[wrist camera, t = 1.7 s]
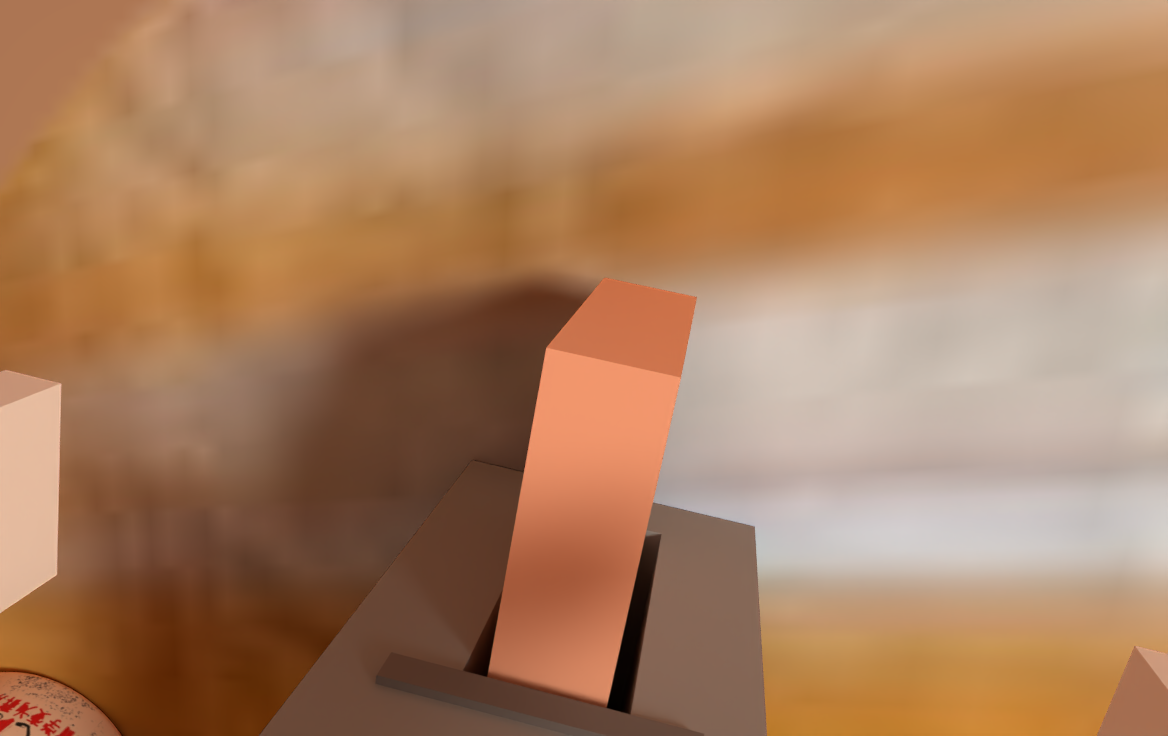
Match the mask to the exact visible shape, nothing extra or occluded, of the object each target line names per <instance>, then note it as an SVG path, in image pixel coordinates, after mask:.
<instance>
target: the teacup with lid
mask: <svg viewBox="0 0 1168 736" xmlns="http://www.w3.org/2000/svg"><path fill="white" fill-rule="evenodd" d="M0 736H122V735H121V734H120V732H119V731H118V730H117V728H116V727H115V726H114V724H113V723H112V722H111V721H110V720H109V719H108V717H107V716H106V715H105V714H104V713H103V712H102V711H101V710H100V709H99V708H97V707H96V706H95V705H94V704H93V703H91V702H90V701H89V700H88V699H86V698H85V697H83V696H82V695H81V694H79V693H77V692H76V691H74V690H73V689H71V688H69V687H67V686H65V685H63V684H61V683H58V682H56V681H54V680H51V679H48V678H45V677H42V676H38V675H34V674H28V673H21V672H0Z"/></svg>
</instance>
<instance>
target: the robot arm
mask: <svg viewBox="0 0 1168 736" xmlns="http://www.w3.org/2000/svg"><path fill="white" fill-rule="evenodd" d="M60 416H61V383H58V382H54V381H49V380H45V379H41V378H37V377H33V376H29V375H25V374H21V373H17V372H13V371H9V370H4V371H1V372H0V613H1V612H2V611H4V610H5V609H7V608H8V607H10V606H11V605H13V604H14V603H16V602H17V601H19V600H20V599H22V598H23V597H25V596H26V595H28V594H29V593H31V592H32V591H34V590H35V589H37V588H38V587H40V586H41V585H43V584H44V583H46V582H47V581H49V580H50V579H52V578H53V577H55V576H56V575H57V552H58V507H59V461H60ZM1097 736H1168V654H1166V653H1162V652H1158V651H1154V650H1150V649H1146V648H1142V647H1137V646H1134V649H1133V651H1132V654H1131V656H1130V658H1129V661H1128V663H1127V665H1126V668H1125V670H1124V673H1123V675H1122V677H1121V680H1120V682H1119V685H1118V687H1117V689H1116V692H1115V694H1114V696H1113V699H1112V701H1111V704H1110V706H1109V708H1108V711H1107V713H1106V715H1105V718H1104V720H1103V723H1102V725H1101V727H1100V730H1099V732H1098V734H1097Z"/></svg>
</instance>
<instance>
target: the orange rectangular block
mask: <svg viewBox="0 0 1168 736" xmlns="http://www.w3.org/2000/svg"><path fill="white" fill-rule="evenodd" d="M696 299H697V297H694V296H689V295H684V294H679V293H675V292H670V291H665V290H661V289H656V288H651V287H646V286H642V285H637V284H632V283H628V282H623V281H618V280H614V279H609V278H604V279H603V280H602V281H601V282H600V284H599V285H598V286H597V287H596V288H595V290H594V291H593V292H592V293H591V294H590V296H589V297H588V298H587V299H586V300H585V302H584V303H583V304H582V305H581V307H580V308H579V309H578V310H577V311H576V313H575V314H574V315H573V316H572V317H571V319H570V320H569V321H568V322H567V323H566V325H565V326H564V327H563V328H562V329H561V331H560V332H559V333H558V334H557V335H556V337H555V338H554V339H553V340H552V341H551V343H550V344H549V345H548V346H547V347H546V352H545V358H544V363H543V369H542V374H541V380H540V386H539V391H538V397H537V402H536V408H535V413H534V419H533V425H532V430H531V436H530V441H529V447H528V453H527V458H526V464H525V469H524V475H523V480H522V486H521V492H520V497H519V503H518V508H517V514H516V520H515V525H514V531H513V536H512V542H511V547H510V553H509V559H508V564H507V570H506V575H505V581H504V586H503V592H502V598H501V603H500V609H499V614H498V620H497V626H496V631H495V637H494V642H493V648H492V653H491V659H490V665H489V670H488V676H487V677H489V678H493V679H496V680H500V681H504V682H508V683H512V684H516V685H519V686H523V687H527V688H531V689H535V690H539V691H542V692H546V693H550V694H554V695H558V696H562V697H565V698H569V699H573V700H577V701H581V702H585V703H588V704H592V705H596V706H600V707H604V708H607V704H608V699H609V695H610V690H611V686H612V681H613V677H614V672H615V668H616V664H617V659H618V655H619V650H620V646H621V641H622V637H623V632H624V628H625V624H626V619H627V615H628V610H629V606H630V601H631V597H632V592H633V588H634V584H635V579H636V575H637V570H638V566H639V561H640V557H641V552H642V548H643V544H644V539H645V535H646V530H647V526H648V521H649V517H650V512H651V508H652V504H653V499H654V495H655V490H656V486H657V481H658V477H659V472H660V468H661V464H662V459H663V455H664V450H665V446H666V441H667V437H668V432H669V428H670V423H671V419H672V415H673V410H674V406H675V401H676V397H677V392H678V388H679V383H680V379H681V374H682V369H683V364H684V359H685V354H686V349H687V344H688V339H689V334H690V329H691V324H692V319H693V314H694V309H695V304H696Z"/></svg>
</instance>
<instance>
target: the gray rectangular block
mask: <svg viewBox="0 0 1168 736" xmlns="http://www.w3.org/2000/svg"><path fill="white" fill-rule="evenodd" d="M523 475H524V472H521V471H516V470H512V469H508V468H504V467H500V466H495V465H491V464H487V463H483V462H478V461H474V460H472V461H471V462H470V463H469V465H468V466H467V467H466V469H465V470H464V471H463V472H462V474H461V475H460V476H459V478H458V479H457V480H456V482H455V483H454V484H453V485H452V487H451V488H450V489H449V491H448V492H447V493H446V494H445V496H444V497H443V498H442V500H441V501H440V502H439V504H438V505H437V506H436V507H435V509H434V510H433V511H432V513H431V514H430V515H429V516H428V518H427V519H426V520H425V522H424V523H423V524H422V526H421V527H420V528H419V529H418V531H417V532H416V533H415V535H414V536H413V537H412V538H411V540H410V541H409V542H408V544H407V545H406V546H405V547H404V549H403V550H402V551H401V553H400V554H399V555H398V557H397V558H396V559H395V560H394V562H393V563H392V564H391V566H390V567H389V568H388V569H387V571H386V572H385V573H384V575H383V576H382V577H381V579H380V580H379V581H378V582H377V584H376V585H375V586H374V588H373V589H372V590H371V591H370V593H369V594H368V595H367V597H366V598H365V599H364V601H363V602H362V603H361V604H360V606H359V607H358V608H357V610H356V611H355V612H354V613H353V615H352V616H351V617H350V619H349V620H348V621H347V623H346V624H345V625H344V626H343V628H342V629H341V630H340V632H339V633H338V634H337V635H336V637H335V638H334V639H333V641H332V642H331V643H330V644H329V646H328V647H327V648H326V650H325V651H324V652H323V654H322V655H321V656H320V657H319V659H318V660H317V661H316V663H315V664H314V665H313V666H312V668H311V669H310V670H309V672H308V673H307V674H306V676H305V677H304V678H303V679H302V681H301V682H300V683H299V685H298V686H297V687H296V688H295V690H294V691H293V692H292V694H291V695H290V696H289V698H288V699H287V700H286V701H285V703H284V704H283V705H282V707H281V708H280V709H279V710H278V712H277V713H276V714H275V716H274V717H273V718H272V720H271V721H270V722H269V723H268V725H267V726H266V727H265V729H264V730H263V731H262V732H261V734H260V735H259V736H767V731H766V714H765V696H764V679H763V662H762V645H761V627H760V610H759V593H758V576H757V558H756V541H755V527H753V526H749V525H745V524H741V523H736V522H732V521H728V520H724V519H720V518H715V517H711V516H707V515H703V514H698V513H694V512H690V511H686V510H681V509H677V508H673V507H669V506H665V505H660V504H656V503H653V504H652V508H651V512H650V517H649V521H648V526H647V530H646V535H645V539H644V544H643V548H642V552H641V557H640V561H639V566H638V570H637V575H636V579H635V584H634V588H633V592H632V597H631V601H630V606H629V610H628V615H627V619H626V624H625V628H624V632H623V637H622V641H621V646H620V650H619V655H618V659H617V664H616V668H615V672H614V677H613V681H612V686H611V690H610V695H609V699H608V704H607V708H604V707H600V706H596V705H592V704H588V703H585V702H581V701H577V700H573V699H569V698H565V697H562V696H558V695H554V694H550V693H546V692H542V691H539V690H535V689H531V688H527V687H523V686H519V685H516V684H512V683H508V682H504V681H500V680H496V679H493V678H489V677H487V676H488V670H489V665H490V659H491V653H492V648H493V642H494V637H495V631H496V626H497V620H498V614H499V609H500V603H501V598H502V592H503V586H504V581H505V575H506V570H507V564H508V559H509V553H510V547H511V542H512V536H513V531H514V525H515V520H516V514H517V508H518V503H519V497H520V492H521V486H522V480H523Z"/></svg>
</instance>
